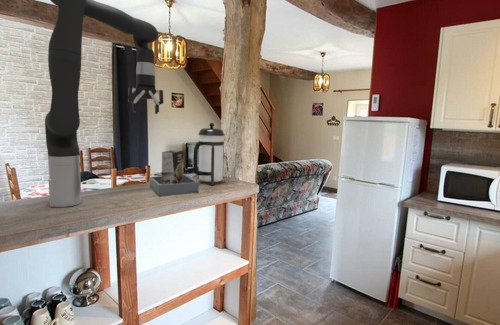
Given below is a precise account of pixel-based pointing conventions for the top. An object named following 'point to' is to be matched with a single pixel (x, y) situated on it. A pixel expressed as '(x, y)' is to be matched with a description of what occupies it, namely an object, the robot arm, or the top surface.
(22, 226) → the top surface
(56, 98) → the robot arm
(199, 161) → the coffee press
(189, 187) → the tray
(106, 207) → the top surface
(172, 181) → the coffee box
